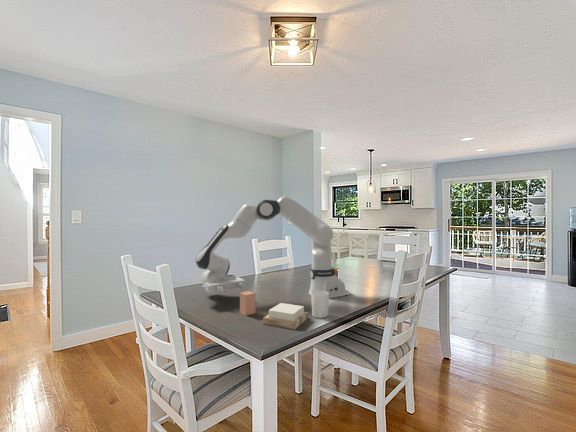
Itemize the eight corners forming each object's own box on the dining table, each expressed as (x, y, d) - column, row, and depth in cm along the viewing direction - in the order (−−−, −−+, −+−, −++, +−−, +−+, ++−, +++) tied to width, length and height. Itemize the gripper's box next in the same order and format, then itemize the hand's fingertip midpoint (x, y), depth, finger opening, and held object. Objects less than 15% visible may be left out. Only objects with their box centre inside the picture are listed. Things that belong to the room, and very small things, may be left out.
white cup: (309, 312, 135) (309, 290, 135) (326, 312, 136) (326, 290, 136) (312, 319, 127) (312, 295, 127) (330, 318, 128) (330, 295, 128)
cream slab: (280, 309, 132) (280, 302, 132) (303, 313, 127) (303, 306, 127) (268, 317, 122) (268, 310, 122) (293, 321, 117) (293, 314, 117)
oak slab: (278, 314, 134) (278, 308, 134) (307, 319, 128) (307, 312, 128) (263, 325, 122) (263, 318, 122) (294, 331, 116) (294, 323, 116)
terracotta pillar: (249, 310, 138) (249, 290, 138) (255, 313, 134) (255, 293, 134) (239, 312, 135) (239, 292, 135) (245, 315, 131) (245, 295, 131)
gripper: (200, 279, 148) (213, 285, 137) (236, 274, 161) (250, 279, 150) (200, 292, 148) (212, 298, 137) (236, 286, 161) (250, 291, 150)
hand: (233, 288), depth 144 cm, fingers open, 8 cm apart
